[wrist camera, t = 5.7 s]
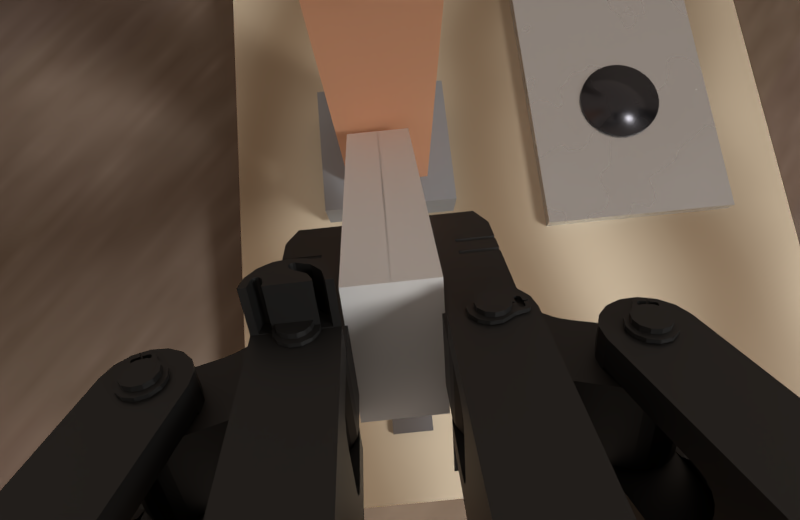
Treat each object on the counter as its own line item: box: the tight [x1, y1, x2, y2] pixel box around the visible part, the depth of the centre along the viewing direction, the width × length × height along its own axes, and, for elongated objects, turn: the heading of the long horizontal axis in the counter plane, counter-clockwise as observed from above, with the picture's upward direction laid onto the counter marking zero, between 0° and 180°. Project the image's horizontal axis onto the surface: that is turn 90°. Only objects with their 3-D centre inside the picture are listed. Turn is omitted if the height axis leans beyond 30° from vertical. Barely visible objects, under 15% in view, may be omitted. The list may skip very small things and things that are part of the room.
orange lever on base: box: [299, 0, 456, 223], centre depth 13 cm, size 4×4×11 cm
